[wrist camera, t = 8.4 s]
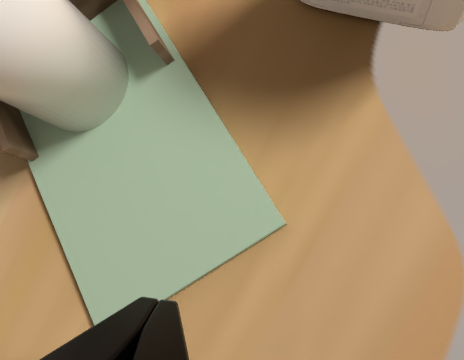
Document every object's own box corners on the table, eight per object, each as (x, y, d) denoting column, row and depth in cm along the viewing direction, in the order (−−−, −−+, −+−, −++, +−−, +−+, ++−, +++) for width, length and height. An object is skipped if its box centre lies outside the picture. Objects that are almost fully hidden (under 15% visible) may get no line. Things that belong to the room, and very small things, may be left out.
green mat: (286, 224, 22) (285, 223, 21) (105, 337, 23) (100, 339, 23) (134, -18, 28) (130, -24, 28) (0, 83, 30) (-6, 79, 29)
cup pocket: (174, 60, 25) (157, 39, 23) (32, 161, 27) (2, 151, 24) (127, -16, 27) (108, -42, 25) (-1, 81, 29) (-31, 65, 27)
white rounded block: (135, 115, 25) (-58, -24, 13) (45, 144, 27) (-205, 44, 14) (121, 25, 27) (-59, -172, 15) (38, 57, 28) (-190, -98, 16)
